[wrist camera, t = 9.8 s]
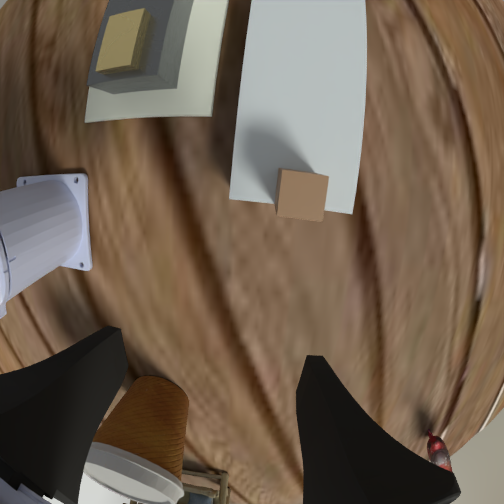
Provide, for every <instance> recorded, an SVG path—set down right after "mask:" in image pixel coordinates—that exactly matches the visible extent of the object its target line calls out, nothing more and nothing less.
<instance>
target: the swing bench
mask: <svg viewBox="0 0 504 504" xmlns="http://www.w3.org/2000/svg"><path fill="white" fill-rule="evenodd" d="M181 473H182V474H188V475H193V476H200V477H206V478H215V479H221V483H220V491H217V490H213V489H212V488H206V487H200V486H194V485H191V484H186V483H182V482H181V483H182V485H183V487H182V488H183V490H184V496H183V497H181V498H179V500H178V501H177V503H176V504H229V499H230V492H231V489H230V488H227V487H228V477H229V474H228V473H226V472H223V473H222V475H215V474H207V473H200V472H194V471H188V470H183V469H182V472H181ZM123 504H126V503H123ZM130 504H137V501H134V500H131V501H130ZM138 504H143V503H140V502H138Z"/></svg>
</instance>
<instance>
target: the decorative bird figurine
mask: <svg viewBox="0 0 504 504" xmlns="http://www.w3.org/2000/svg"><path fill="white" fill-rule="evenodd" d="M428 432H429V434H428V436H429V438H430V439H429V440H428V443H427V451H428V456H429V459H430V461H431V463H433V464H435V465H437V466H439V467H442V468H444V469H446V470H448V471H451V472H452V467H451V461H450V457H449V453H448V450H447V447H446V445H445V443H444V442H443V440H442V439H441V438H440V437H438V436H433V435H432V433H431V432H430V430H429V429H428Z"/></svg>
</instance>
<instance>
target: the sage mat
mask: <svg viewBox="0 0 504 504" xmlns="http://www.w3.org/2000/svg"><path fill="white" fill-rule="evenodd" d="M228 3H229V0H194V2H193V6H192V10H191V14H190V18H189V23H188V28H187V32H186V37H185V42H184V48H183V53H182V59H181V65H180V71H179V77H178V84H177V89H162V90H148V91H137V92H128V93H120V94H111V93H108V92H105V91H102V90H99V89H96V88H93V87H89V92H88V99H87V106H86V114H85V123H91V122H99V121H108V120H118V119H130V118H145V117H174V116H199V117H212V112H213V103H214V95H215V87H216V79H217V71H218V64H219V57H220V50H221V44H222V38H223V31H224V25H225V20H226V14H227V8H228Z"/></svg>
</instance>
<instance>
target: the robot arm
mask: <svg viewBox="0 0 504 504" xmlns="http://www.w3.org/2000/svg"><path fill="white" fill-rule="evenodd" d="M77 177H78V182H77ZM82 263H83V264H84V266H83V265H82ZM58 266H64V267H69V268H74V269H79V270H85V271H89V270H90V269H92V256H91V245H90V233H89V215H88V177H87V175H86V174H84V173H76V174H55V175H39V176H27V177H19V178H18V179H17V187H16V188H12V189H8V190H4V191H0V319H1V318H2V317H3V316H4V315H6V314H7V312H6V302H7V301H8V300H10V299H11V298H13V297H14V296H15V295H17V294H18V293H20V292H21V291H22V290H24V289H25V288H27V287H28V286H30V285H31V284H32V283H34V282H35V281H37V280H38V279H40V278H41V277H43V276H44V275H46V274H47V273H49V272H50V271H52V270H54V269H55V268H57V267H58ZM127 369H128V362H127V357H126V353H125V348H124V343H123V338H122V333H121V329H120V328H116V327H112V326H106V327H104V328H102V329H100V330H99V331H97V332H95V333H93V334H92V335H90V336H88V337H86V338H85V339H83V340H81V341H79V342H78V343H76V344H74V345H72V346H71V347H69V348H67V349H65V350H63V351H61V352H59V353H57V354H55V355H53V356H51V357H49V358H47V359H45V360H43V361H41V362H38V363H36V364H33V365H31V366H28V367H25V368H22V369H19V370H15V371H12V372H8V373H5V374H0V504H51V503H50V502H48V501H46V500H45V499H43V498H42V497H43V495H45V496H46V497H48V498H50V499H52V498H53V497H54V498H55V499H57V500H59V501H61V502H62V503H64V504H78V496H79V490H80V484H81V479H82V475H83V470H84V466H85V463H86V459H87V456H88V453H89V450H90V447H91V444H92V441H93V438H94V436H95V433H96V431H97V429H98V427H99V424H100V423H101V421H102V419H103V417H104V415H105V414H106V412H107V410H108V408H109V406H110V405H111V403H112V401H113V399H114V397H115V396H116V394H117V392H118V390H119V388H120V386H121V384H122V382H123V379H124V377H125V374H126V372H127ZM296 414H297V422H298V429H299V436H300V444H301V451H302V458H303V470H304V489H303V504H450V503H451V502H453V501H454V500H456V499H457V498H458V497H459V496H460V494H461V491H460V488H459V485H458V483H457V480H456V477H455V475H454V473H453V472H451V471H448V470H446V469H444V468H442V467H439V466H437V465H435V464H433V463H431V462H429V461H427V460H425V459H423V458H422V457H420V456H418V455H417V454H415V453H413V452H412V451H410V450H409V449H407V448H406V447H405V446H403V445H402V444H401V443H399V442H398V441H396V440H395V439H394V438H393V437H391V436H390V435H389V434H388V433H387V432H385V431H384V430H383V429H382V428H381V427H380V426H379V425H378V424H377V423H376V422H375V421H373V420H372V419H371V417H370V416H369V415H368V414H367V413H366V412H365V411H364V410H363V409H362V408H361V406H360V405H359V404H358V403H357V402H356V401H355V399H354V398H353V397H352V396H351V394H350V393H349V392H348V390H347V389H346V388H345V387H344V385H343V384H342V382H341V381H340V380H339V378H338V377H337V375H336V374H335V373H334V371H333V370H332V368H331V367H330V365H329V364H328V362H327V361H326V360H325V358H324V357H323V356H313V355H307V357H306V360H305V364H304V367H303V370H302V374H301V377H300V381H299V384H298V387H297V390H296Z"/></svg>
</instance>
